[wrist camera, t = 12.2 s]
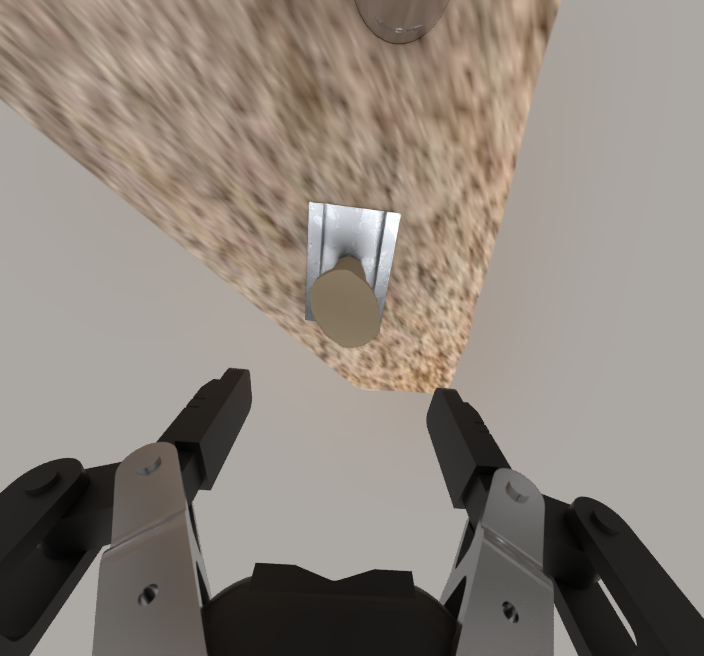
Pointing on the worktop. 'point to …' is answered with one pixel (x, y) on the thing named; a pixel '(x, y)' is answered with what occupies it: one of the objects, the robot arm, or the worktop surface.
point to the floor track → (351, 244)
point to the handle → (346, 304)
